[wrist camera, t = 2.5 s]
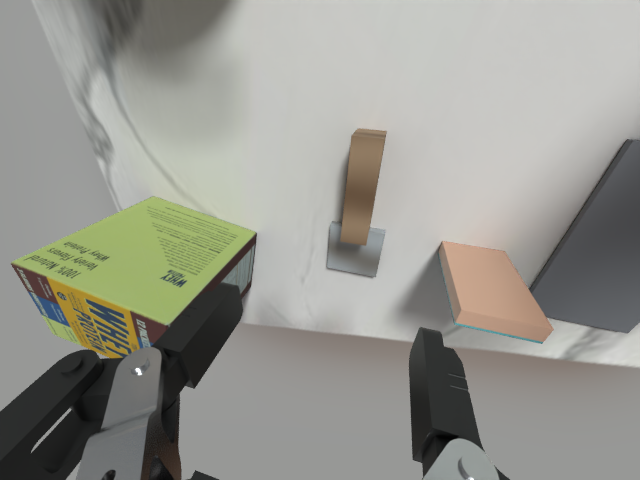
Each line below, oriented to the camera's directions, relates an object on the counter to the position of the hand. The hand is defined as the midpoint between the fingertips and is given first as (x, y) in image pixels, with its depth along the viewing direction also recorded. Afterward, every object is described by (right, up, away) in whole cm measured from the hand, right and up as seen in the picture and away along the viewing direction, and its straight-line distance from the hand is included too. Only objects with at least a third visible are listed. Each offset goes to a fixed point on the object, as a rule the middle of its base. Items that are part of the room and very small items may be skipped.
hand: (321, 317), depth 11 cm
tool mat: (+28, +3, +12) cm, 30 cm away
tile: (+16, +2, +16) cm, 22 cm away
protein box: (-16, +3, +25) cm, 30 cm away
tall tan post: (+4, +7, +17) cm, 18 cm away
